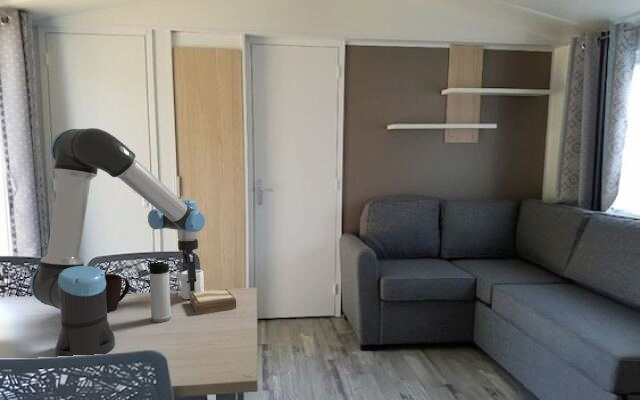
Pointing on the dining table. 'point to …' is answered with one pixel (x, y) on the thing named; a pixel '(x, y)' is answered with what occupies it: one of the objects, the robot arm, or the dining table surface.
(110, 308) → the mug
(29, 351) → the dining table surface
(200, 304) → the pedestal
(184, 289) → the mug
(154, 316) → the travel mug
